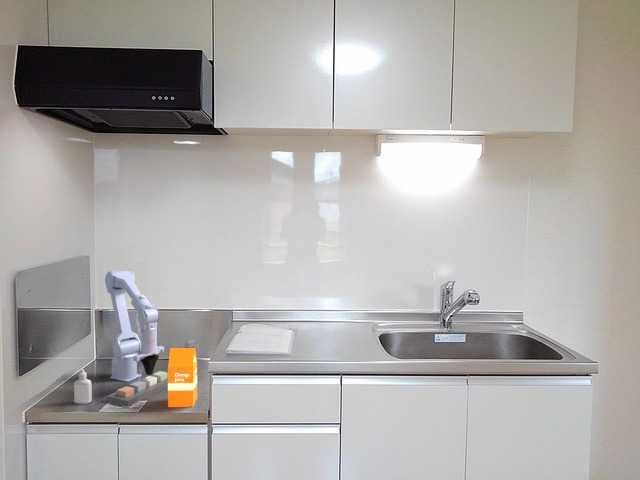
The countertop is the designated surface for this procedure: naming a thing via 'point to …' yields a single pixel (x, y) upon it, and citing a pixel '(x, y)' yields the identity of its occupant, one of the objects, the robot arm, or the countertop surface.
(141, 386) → the slate key
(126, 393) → the terracotta key
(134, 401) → the grey slotted tray
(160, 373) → the sage key
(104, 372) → the countertop surface
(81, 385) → the eye dropper bottle
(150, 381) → the cream key
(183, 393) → the orange juice
